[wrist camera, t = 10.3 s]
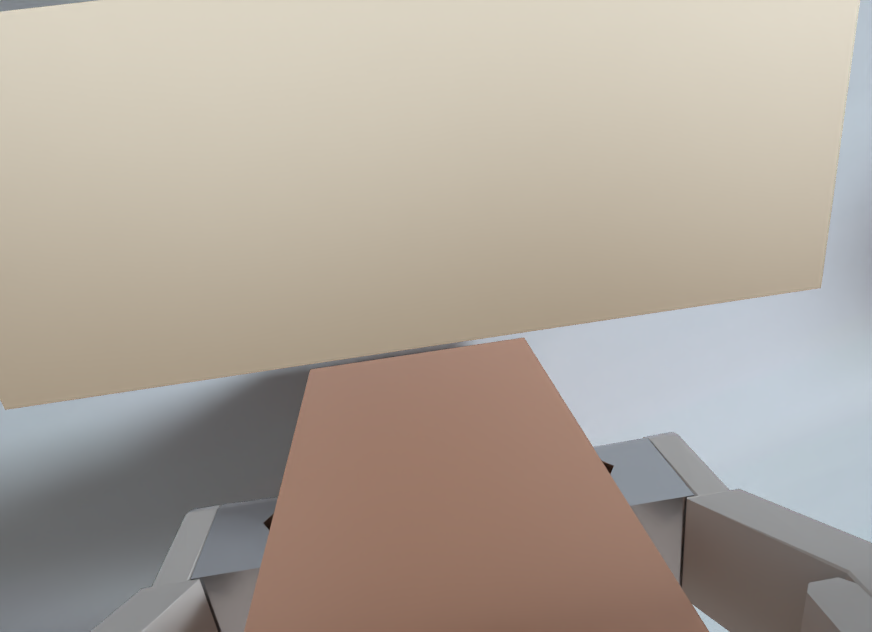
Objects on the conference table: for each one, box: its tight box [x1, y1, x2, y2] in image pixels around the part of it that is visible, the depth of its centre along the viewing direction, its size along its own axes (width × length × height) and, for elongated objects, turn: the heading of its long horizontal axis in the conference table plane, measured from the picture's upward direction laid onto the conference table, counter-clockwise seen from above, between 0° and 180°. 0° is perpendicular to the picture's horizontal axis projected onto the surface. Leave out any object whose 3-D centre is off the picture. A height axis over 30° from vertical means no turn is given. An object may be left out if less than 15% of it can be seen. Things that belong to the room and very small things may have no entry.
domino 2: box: [244, 338, 709, 632], centre depth 9 cm, size 2×5×10 cm, turn 97°
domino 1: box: [0, 0, 860, 410], centre depth 8 cm, size 2×5×10 cm, turn 97°
